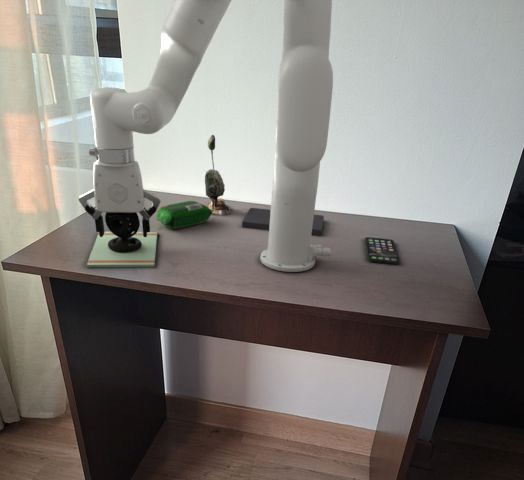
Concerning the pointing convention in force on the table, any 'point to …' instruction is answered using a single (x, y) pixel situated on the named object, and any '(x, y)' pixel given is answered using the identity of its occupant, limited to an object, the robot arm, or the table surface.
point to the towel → (138, 258)
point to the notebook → (262, 220)
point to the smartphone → (381, 250)
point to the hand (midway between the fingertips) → (123, 235)
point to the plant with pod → (215, 186)
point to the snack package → (183, 214)
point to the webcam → (123, 231)
